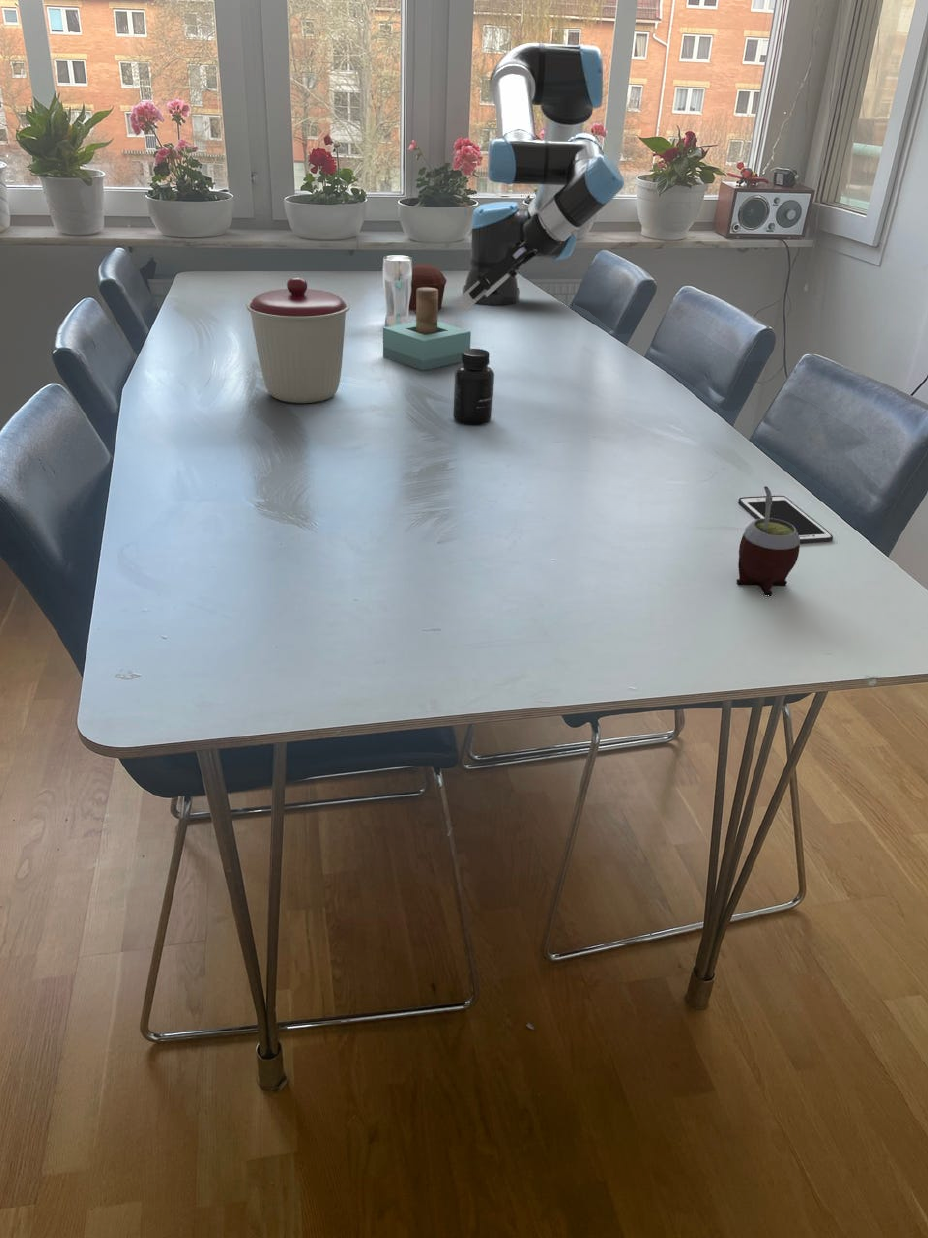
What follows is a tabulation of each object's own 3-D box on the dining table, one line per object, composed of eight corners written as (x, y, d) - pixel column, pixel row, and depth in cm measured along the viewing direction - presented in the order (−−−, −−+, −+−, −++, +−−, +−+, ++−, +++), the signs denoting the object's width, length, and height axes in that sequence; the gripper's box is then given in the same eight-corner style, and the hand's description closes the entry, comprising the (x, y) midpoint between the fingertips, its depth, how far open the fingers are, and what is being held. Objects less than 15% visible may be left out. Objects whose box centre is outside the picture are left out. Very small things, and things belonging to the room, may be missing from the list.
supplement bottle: (487, 427, 164) (491, 359, 158) (449, 423, 165) (451, 355, 159) (494, 415, 170) (498, 348, 164) (457, 411, 171) (459, 345, 165)
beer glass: (411, 329, 220) (411, 261, 212) (381, 327, 220) (380, 260, 212) (413, 321, 226) (413, 255, 218) (384, 320, 226) (383, 254, 218)
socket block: (428, 346, 208) (429, 318, 205) (469, 359, 200) (470, 331, 197) (382, 355, 200) (382, 327, 197) (423, 370, 192) (423, 340, 189)
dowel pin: (427, 344, 201) (428, 286, 195) (440, 349, 199) (442, 290, 193) (411, 348, 199) (411, 289, 193) (425, 352, 196) (426, 293, 190)
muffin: (394, 303, 242) (394, 262, 237) (434, 300, 246) (435, 259, 241) (412, 314, 233) (412, 271, 228) (453, 310, 237) (454, 269, 232)
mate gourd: (779, 571, 122) (805, 462, 114) (800, 602, 115) (829, 488, 108) (722, 570, 122) (745, 460, 114) (739, 601, 115) (764, 486, 107)
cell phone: (782, 500, 143) (783, 494, 142) (834, 543, 131) (836, 537, 130) (735, 503, 141) (736, 497, 141) (783, 547, 129) (785, 540, 129)
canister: (333, 415, 167) (329, 292, 156) (237, 405, 170) (226, 283, 159) (363, 385, 182) (361, 271, 171) (275, 376, 185) (267, 263, 174)
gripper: (544, 254, 170) (463, 328, 182) (578, 232, 190) (502, 299, 202) (518, 220, 169) (438, 296, 181) (555, 201, 189) (480, 271, 201)
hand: (472, 298), depth 191 cm, fingers open, 13 cm apart
